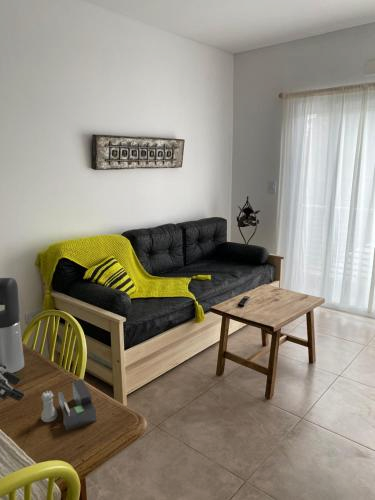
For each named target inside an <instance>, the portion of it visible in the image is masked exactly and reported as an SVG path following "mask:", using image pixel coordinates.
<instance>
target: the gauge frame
mask: <svg viewBox="0 0 375 500" xmlns="http://www.w3.org/2000/svg"><path fill="white" fill-rule="evenodd" d="M71 385H72V396H73V398H72V399H73V401H74V402H75V405H76V406H74V407H71V408H69V410H70V413H67V410H64V411H62V420H63V426H64V428H65V430H66V431H69V430H73V429H76V428H79V427H82V426H85V425H88V424H90V423H94V422H96V421H97V413H96V406H95V405H94V404H93V402H92V400H93V399H92V394H91V393H90V391H89V389H88V387H87V386H86V384H85V382H84V380H83V379H82V378H81V379H78V380H73V381H71Z"/></svg>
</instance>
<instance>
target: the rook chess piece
mask: <svg viewBox="0 0 375 500" xmlns="http://www.w3.org/2000/svg"><path fill="white" fill-rule="evenodd" d="M41 394H42V395H41V399H42V404H43V408H42V409H43V410H42V411H41V414H40V416H41V417H40V419H41V420H42V421H43V422H44V423H51V422H53V421H55V420H56V419H57V418H58V412H57V409H56V407H54V403H53V401H54V398H53V397H54V394H53V392H52V391H51V390H49V391H48V390H45V392H44V391H43V392H42V393H41Z"/></svg>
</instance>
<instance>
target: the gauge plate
mask: <svg viewBox="0 0 375 500" xmlns="http://www.w3.org/2000/svg"><path fill="white" fill-rule="evenodd" d="M57 394H58V404H59V406H60V408H61V412H63V411H64V410H67V413H70V410H69V409H70V408H69V405H68V403H67V400H66V399H65V396H64V394H63V392H62V391H58V393H57Z"/></svg>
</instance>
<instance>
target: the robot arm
mask: <svg viewBox="0 0 375 500" xmlns="http://www.w3.org/2000/svg"><path fill="white" fill-rule="evenodd" d="M0 306H4V309H2V310H0V398H1V399H3V400H6V399H7V398H8V397H9V398H11V399H12V400H16V401H17V402H20V401H21V400H22V399H23V398H24V396H25V393H24V391H21V390H19V389H18V388H15V387H13V386H16V385H18V383H19V382H20V380H21V379H20V378H21V377H19V376H18V375H16V374H14V373H16V372H19V371H21V370H22V369H23V368H24V367H25V357H24V349H23V339H22V332H21V331H22V330H21V324H20V304H19V287H18V283H17V281H16V279H15V278H14V277H0ZM10 384H11V385H13V386H11V385H10Z"/></svg>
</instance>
